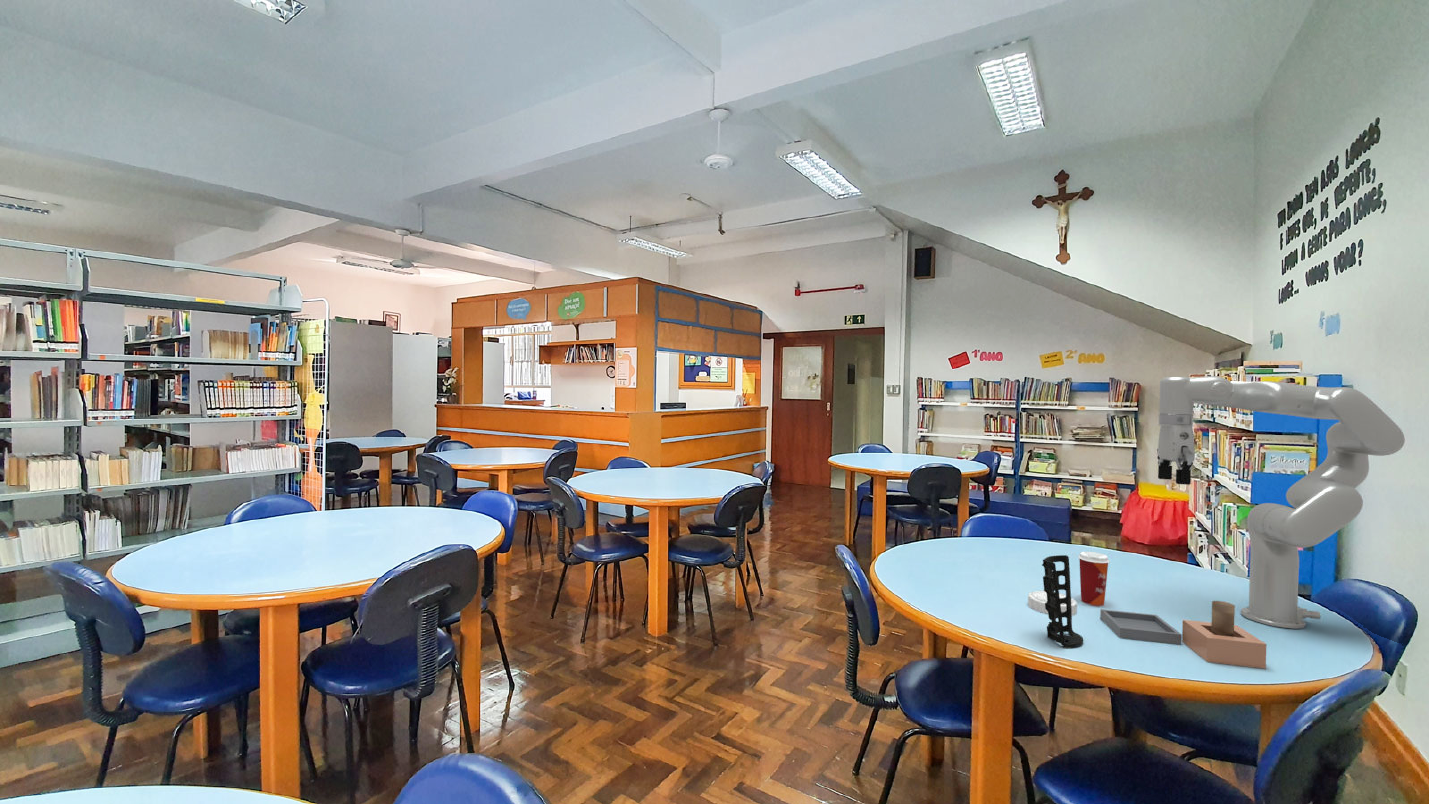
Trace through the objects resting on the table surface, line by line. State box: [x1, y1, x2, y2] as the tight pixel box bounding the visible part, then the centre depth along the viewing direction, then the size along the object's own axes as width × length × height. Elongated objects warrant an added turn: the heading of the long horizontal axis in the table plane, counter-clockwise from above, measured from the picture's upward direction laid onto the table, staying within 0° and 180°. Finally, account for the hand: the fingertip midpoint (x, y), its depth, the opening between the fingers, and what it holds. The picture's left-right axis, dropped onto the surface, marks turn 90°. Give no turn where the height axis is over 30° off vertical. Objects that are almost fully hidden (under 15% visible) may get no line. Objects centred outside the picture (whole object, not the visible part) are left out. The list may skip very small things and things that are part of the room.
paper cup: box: [1077, 551, 1110, 607], centre depth 169 cm, size 8×8×14 cm
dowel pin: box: [1210, 600, 1236, 637], centre depth 135 cm, size 4×4×12 cm
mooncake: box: [1027, 590, 1078, 616], centre depth 163 cm, size 12×12×4 cm
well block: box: [1181, 619, 1267, 670], centre depth 135 cm, size 11×11×6 cm
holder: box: [1041, 554, 1084, 649], centre depth 142 cm, size 11×8×20 cm
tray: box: [1099, 609, 1183, 646], centre depth 148 cm, size 13×13×2 cm
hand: (1173, 481), depth 162 cm, fingers open, 9 cm apart
